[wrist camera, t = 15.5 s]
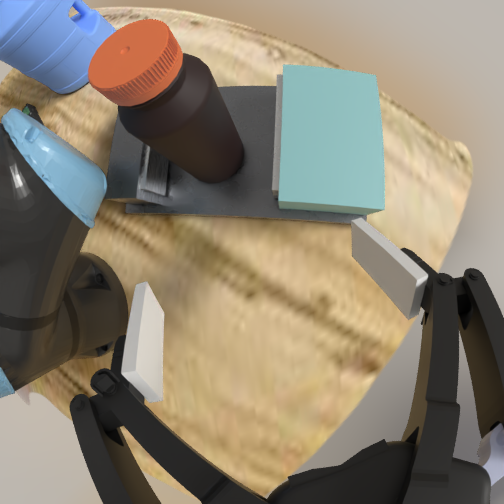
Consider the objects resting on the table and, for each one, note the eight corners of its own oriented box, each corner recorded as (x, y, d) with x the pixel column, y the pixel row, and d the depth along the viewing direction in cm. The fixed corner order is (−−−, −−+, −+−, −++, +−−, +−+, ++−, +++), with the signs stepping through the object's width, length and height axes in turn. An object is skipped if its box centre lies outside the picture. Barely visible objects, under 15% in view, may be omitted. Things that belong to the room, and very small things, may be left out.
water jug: (75, 107, 34) (-47, 41, 6) (44, 83, 35) (-48, 33, 7) (135, 36, 32) (48, -63, 5) (94, 23, 33) (19, -47, 5)
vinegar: (181, 182, 30) (58, 115, 10) (191, 127, 30) (98, 22, 10) (240, 186, 30) (168, 99, 10) (248, 129, 29) (202, -1, 9)
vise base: (133, 214, 33) (96, 208, 25) (148, 101, 32) (121, 75, 24) (361, 225, 30) (385, 221, 22) (358, 101, 29) (376, 69, 22)
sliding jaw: (273, 208, 29) (271, 200, 23) (278, 92, 28) (277, 64, 22) (365, 215, 28) (384, 209, 22) (362, 100, 27) (375, 75, 21)
